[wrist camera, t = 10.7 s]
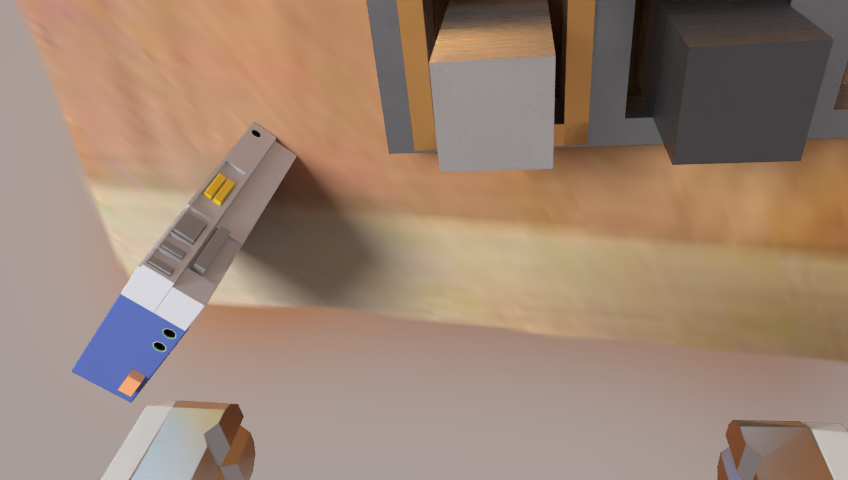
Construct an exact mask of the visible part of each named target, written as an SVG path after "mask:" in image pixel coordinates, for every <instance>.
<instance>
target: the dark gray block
mask: <svg viewBox="0 0 848 480" xmlns="http://www.w3.org/2000/svg"><path fill="white" fill-rule="evenodd" d="M833 40H834V39H833V38H832V37H830V36H829V35H828V34H827V33H825V32H824V31H823V30H821V29H820V28H819V27H817V26H816V25H815V24H813V23H812V22H811V21H810V20H808V19H807V18H806V17H804V16H803V15H802V14H800V13H799V12H798V11H796V10H795V9H794V8H793V7H791V6H790V5H789V4H787V3H786V2H785V1H783V0H643V9H642V19H641V30H640V40H639V50H638V61H637V71H636V80H637V82H638V84H639V87H640V89H641V91H642V94H643V96H644V99H645V101H646V103H647V106H648V108H649V110H650V113H651V115H652V117H653V120H654V122H655V124H656V127H657V129H658V132H659V134H660V136H661V139H662V141H663V143H664V146H665V148H666V150H667V153H668V155H669V157H670V160H671V162H672V165H680V164H712V163H744V162H777V161H800V160H801V157H802V153H803V149H804V146H805V142H806V138H807V135H808V131H809V128H810V124H811V120H812V117H813V113H814V109H815V106H816V102H817V98H818V95H819V91H820V87H821V84H822V80H823V77H824V73H825V69H826V66H827V62H828V58H829V55H830V51H831V47H832V44H833Z"/></svg>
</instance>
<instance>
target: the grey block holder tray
mask: <svg viewBox="0 0 848 480" xmlns="http://www.w3.org/2000/svg"><path fill="white" fill-rule="evenodd" d="M635 1H636V0H563V19H562V56H561V94H560V98H555V105H554V148H566V147H595V146H624V145H652V144H664V143H663V141H662V139H661V136H660V134H659V132H658V129H657V127H656V124H655V122H654V120H653V117H652V115H651V113H650V110H649V108H648V106H647V103H646V101H645V99H644V96H643V94H635V95H627V89H628V78H629V67H630V56H631V45H632V34H633V23H634V12H635ZM783 1H785V2H786V3H787V4H789V5H790V6H791V7H793V8H794V9H795V10H796V11H798V12H799V13H800V14H802V15H803V16H804V17H806V18H807V19H808V20H810V21H811V22H812V23H813V24H815V25H816V26H817V27H819V28H820V29H821V30H823V31H824V32H825V33H827V34H828V35H829V36H830V37H832V38H833V39H834V40H833V44H832V47H831V51H830V55H829V58H828V62H827V66H826V69H825V73H824V77H823V80H822V84H821V87H820V91H819V95H818V98H817V102H816V106H815V109H814V113H813V117H812V120H811V124H810V128H809V131H808V135H807V138H806V139H826V138H848V85H841V82H842V79H843V75H844V72H845V68H846V65H847V62H848V0H783ZM367 7H368V14H369V21H370V27H371V34H372V41H373V48H374V54H375V61H376V68H377V75H378V82H379V88H380V95H381V102H382V109H383V115H384V122H385V129H386V136H387V143H388V149H389V154H393V153H422V152H437V141H436V131H435V121H434V110H433V100H432V90H431V79H430V69H429V61H430V58H431V55H432V52H433V49H434V46H435V43H436V40H435V29H434V18H433V7H432V0H367Z"/></svg>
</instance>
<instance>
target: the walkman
mask: <svg viewBox="0 0 848 480" xmlns="http://www.w3.org/2000/svg"><path fill="white" fill-rule="evenodd" d="M275 140H276V137H275V136H273V135H272V134H271V133H269V132H268V131H266V130H265V129H263V128H262V127H261V126H259V125H258V124H256V123H255V122H253V124H252V125H251V126H250V127H249V129H248V130H247V131H246V132H245V134H244V135H243V136H242V137H241V138H240V140H239V141H238V142H237V143H236V145H235V146H234V147H233V148H232V150H231V151H230V152H229V153H228V155H227V156H226V157H225V158H224V160H223V161H222V162H221V163H220V164H219V166H218V167H217V168H216V169H215V171H214V172H213V173H212V174H211V176H210V177H209V178H208V179H207V181H206V182H205V183H204V184H203V186H202V187H201V188H200V189H199V190H198V192H197V193H196V194H195V195H194V197H193V198H192V199H191V200H190V202H189V203H188V204H187V206H186V207H185V208H184V210H183V211H182V212H181V213H180V215H179V216H178V217H177V218H176V219H175V221H174V222H173V223H172V224H171V226H170V227H169V228H168V229H167V231H166V232H165V233H164V234H163V236H162V237H161V238H160V239H159V241H158V242H157V243H156V244H155V245H154V247H153V248H152V249H151V250H150V252H149V253H148V254H147V255H146V257H145V258H144V259H143V260H142V262H141V263H140V264H139V265H138V267H137V268H136V270H135V272H134V273H133V275H132V276H131V278H130V279H129V281H128V283H127V284H126V286H125V287H124V289H123V290H122V292H121V294H120V295H119V297H118V298H117V300H116V302H115V303H114V305H113V306H112V308H111V309H110V311H109V313H108V314H107V316H106V317H105V319H104V321H103V322H102V324H101V325H100V327H99V328H98V330H97V331H96V333H95V335H94V336H93V338H92V339H91V341H90V342H89V344H88V346H87V347H86V349H85V351H84V352H83V353H82V355H81V357H80V358H79V360H78V361H77V363H76V364H75V366H74V368H73V369H72V372H73V373H75V374H77V375H79V376H81V377H83V378H85V379H87V380H89V381H91V382H92V383H94V384H96V385H98V386H100V387H102V388H104V389H106V390H108V391H110V392H111V393H113V394H115V395H117V396H119V397H121V398H123V399H125V400H127V401H129V402H132V401H133V400H134V398H135V397H136V396H137V394H138V393H139V392H140V391H141V389H142V388H143V387H144V386H145V384H146V383H147V382H148V380H149V379H150V378H151V377H152V375H153V374H154V372H155V371H156V370H157V369H158V368H159V366H160V365H161V364H162V363H163V361H164V360H165V359H166V357H167V356H168V355H169V353H170V352H171V351H172V350H173V348H174V347H175V346H176V345H177V343H178V342H179V341H180V339H181V338H182V337H183V336H184V334H185V333H186V332H187V330H188V329H189V327H190V325H191V324H192V322H193V321H194V320H195V319H196V317H197V316H198V315H199V313H200V312H201V311H202V310H203V308H204V307H205V306H206V304H207V302H208V301H209V299H210V298H211V296H212V294H213V293H214V291H215V289H216V288H217V286H218V284H219V283H220V281H221V280H222V278H223V276H224V275H225V273H226V271H227V270H228V268H229V266H230V265H231V263H232V262H233V260H234V258H235V257H236V255H237V253H238V252H239V250H240V248H241V247H242V245H243V244H244V242H245V240H246V239H247V237H248V235H249V234H250V232H251V230H252V229H253V227H254V226H255V224H256V222H257V221H258V219H259V217H260V216H261V214H262V212H263V211H264V209H265V208H266V206H267V204H268V203H269V201H270V199H271V198H272V196H273V194H274V193H275V191H276V190H277V188H278V186H279V185H280V183H281V181H282V180H283V178H284V176H285V175H286V173H287V172H288V170H289V168H290V167H291V165H292V163H293V162H294V160H295V159H296V157H297V156H296V155H295V154H294V153H292V152H291V151H289V150H288V149H286V148H285V147H283V146H282V145H281V144H279V143H278V142H276V141H275ZM271 145H272V146H271ZM269 148H270V149H269ZM264 155H265V156H264ZM259 162H260V163H259Z"/></svg>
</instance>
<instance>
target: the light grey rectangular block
mask: <svg viewBox="0 0 848 480" xmlns="http://www.w3.org/2000/svg"><path fill="white" fill-rule="evenodd" d="M555 60H556V55H555V48H554V41H553V35H552V28H551V21H550V14H549V7H548V1H547V0H450V1H449V4H448V7H447V10H446V13H445V16H444V19H443V22H442V25H441V28H440V31H439V34H438V37H437V40H436V43H435V46H434V49H433V52H432V55H431V58H430V61H429V69H430V79H431V90H432V100H433V110H434V121H435V131H436V141H437V152H438V162H439V172H454V171H489V170H525V169H553V150H554V105H555Z"/></svg>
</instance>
